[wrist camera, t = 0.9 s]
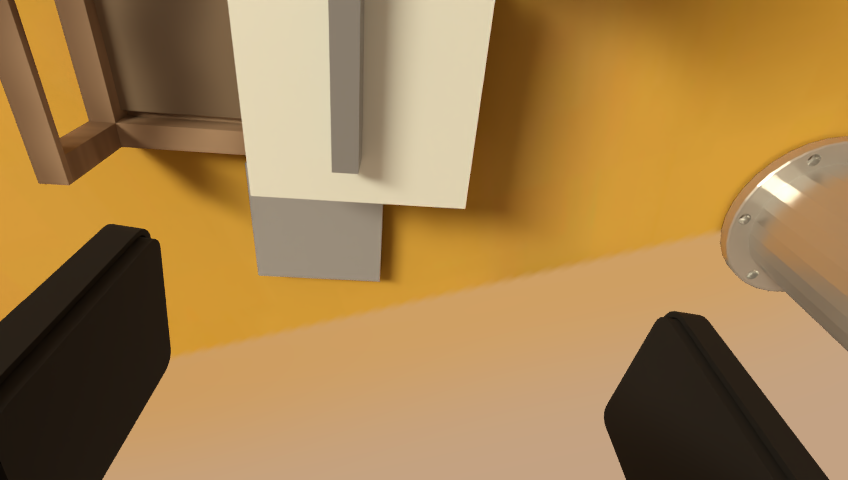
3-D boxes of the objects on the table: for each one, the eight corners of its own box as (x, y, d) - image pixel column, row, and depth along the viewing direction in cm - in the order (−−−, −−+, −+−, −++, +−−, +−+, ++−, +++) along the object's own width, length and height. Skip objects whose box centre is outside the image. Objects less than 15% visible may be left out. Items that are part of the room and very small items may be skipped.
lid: (514, -155, 18) (529, -168, 16) (464, 203, 26) (469, 228, 24) (210, -188, 17) (181, -207, 15) (253, 190, 25) (238, 215, 23)
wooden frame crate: (486, -142, 25) (515, -171, 18) (451, 153, 33) (462, 209, 26) (33, -191, 23) (-118, -241, 17) (117, 131, 32) (38, 183, 25)
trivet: (385, 163, 33) (384, 172, 32) (380, 270, 38) (379, 281, 37) (251, 154, 33) (245, 163, 32) (263, 263, 38) (258, 275, 36)
